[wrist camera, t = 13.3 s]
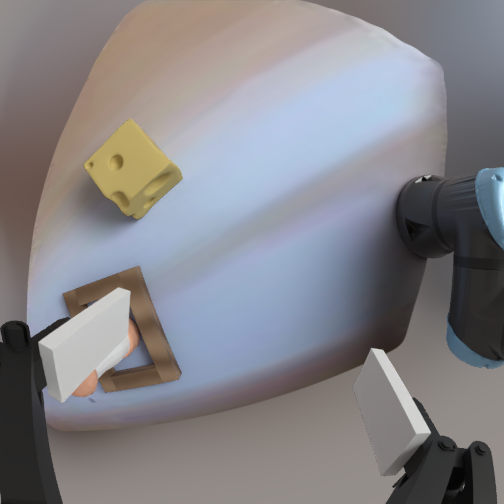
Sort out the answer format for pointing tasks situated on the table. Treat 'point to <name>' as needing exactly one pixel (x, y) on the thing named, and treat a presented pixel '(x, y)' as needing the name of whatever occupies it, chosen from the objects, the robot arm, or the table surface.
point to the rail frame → (148, 326)
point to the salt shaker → (110, 361)
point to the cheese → (132, 170)
